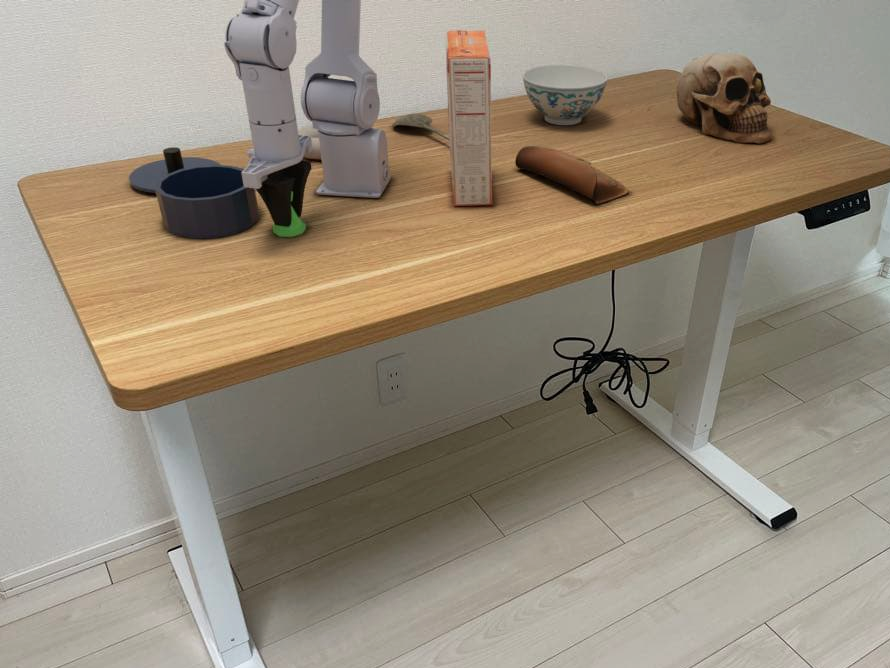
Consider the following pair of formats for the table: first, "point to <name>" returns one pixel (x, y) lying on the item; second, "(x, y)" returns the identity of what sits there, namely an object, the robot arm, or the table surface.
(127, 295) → the table surface
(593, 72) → the chinaware
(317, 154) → the donut
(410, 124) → the soupspoon
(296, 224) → the game piece
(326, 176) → the robot arm
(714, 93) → the beige skull model
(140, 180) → the pan lid
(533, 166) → the sunglasses case
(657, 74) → the table surface
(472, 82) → the cracker box
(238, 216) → the pan
